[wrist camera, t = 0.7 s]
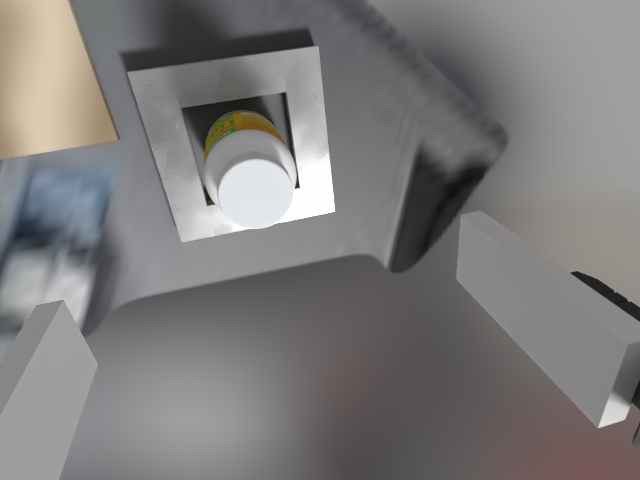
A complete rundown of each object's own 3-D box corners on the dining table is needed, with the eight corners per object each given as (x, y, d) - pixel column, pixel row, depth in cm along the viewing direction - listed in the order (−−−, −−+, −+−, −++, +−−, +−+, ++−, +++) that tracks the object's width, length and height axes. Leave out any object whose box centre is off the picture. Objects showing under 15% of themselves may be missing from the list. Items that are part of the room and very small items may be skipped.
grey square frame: (182, 235, 31) (181, 242, 30) (130, 70, 25) (127, 72, 24) (331, 205, 33) (334, 211, 32) (314, 45, 27) (318, 46, 26)
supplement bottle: (223, 94, 27) (228, 125, 19) (293, 129, 30) (324, 170, 21) (194, 164, 29) (186, 220, 21) (261, 192, 31) (279, 253, 23)
